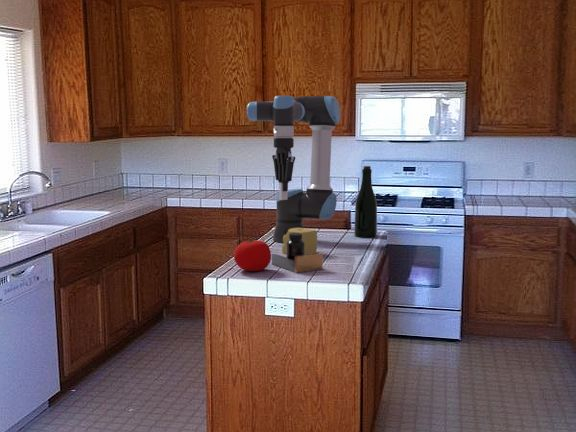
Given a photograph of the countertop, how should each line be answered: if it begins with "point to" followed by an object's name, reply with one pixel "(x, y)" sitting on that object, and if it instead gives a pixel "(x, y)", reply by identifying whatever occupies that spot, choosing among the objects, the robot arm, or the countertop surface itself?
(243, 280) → the countertop surface
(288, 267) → the guide channel
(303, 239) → the cheese
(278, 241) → the robot arm
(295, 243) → the supplement bottle
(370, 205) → the dark green wine bottle
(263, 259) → the tomato
